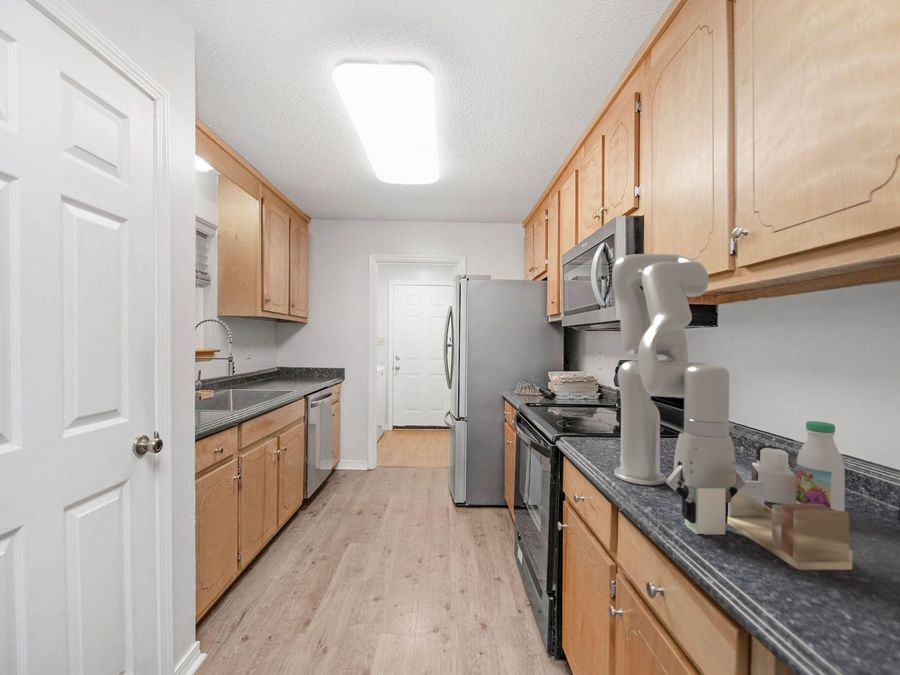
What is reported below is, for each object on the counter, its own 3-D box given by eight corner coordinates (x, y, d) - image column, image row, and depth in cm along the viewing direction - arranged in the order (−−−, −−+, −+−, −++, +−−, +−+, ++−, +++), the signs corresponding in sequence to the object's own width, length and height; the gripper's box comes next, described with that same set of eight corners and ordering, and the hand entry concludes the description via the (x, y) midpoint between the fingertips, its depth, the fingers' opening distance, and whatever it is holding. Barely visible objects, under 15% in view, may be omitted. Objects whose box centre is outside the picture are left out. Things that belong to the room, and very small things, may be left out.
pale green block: (684, 525, 83) (685, 480, 83) (711, 525, 83) (712, 480, 83) (697, 534, 79) (697, 487, 79) (725, 534, 79) (725, 487, 79)
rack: (704, 508, 92) (705, 467, 92) (745, 508, 92) (745, 467, 92) (798, 569, 68) (798, 513, 68) (852, 569, 68) (852, 513, 68)
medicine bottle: (751, 490, 103) (751, 442, 103) (787, 496, 99) (788, 446, 99) (756, 500, 96) (757, 449, 96) (795, 506, 93) (796, 453, 93)
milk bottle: (820, 509, 92) (821, 419, 92) (855, 525, 84) (856, 426, 84) (786, 509, 92) (787, 419, 92) (818, 525, 84) (819, 426, 84)
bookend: (713, 506, 90) (713, 474, 90) (746, 506, 90) (746, 474, 90) (729, 516, 85) (730, 482, 85) (764, 516, 85) (764, 482, 85)
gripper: (735, 424, 85) (734, 512, 85) (652, 424, 85) (651, 512, 85) (763, 433, 78) (762, 529, 78) (673, 432, 77) (672, 529, 78)
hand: (704, 519), depth 81 cm, fingers closed on pale green block, 5 cm apart
